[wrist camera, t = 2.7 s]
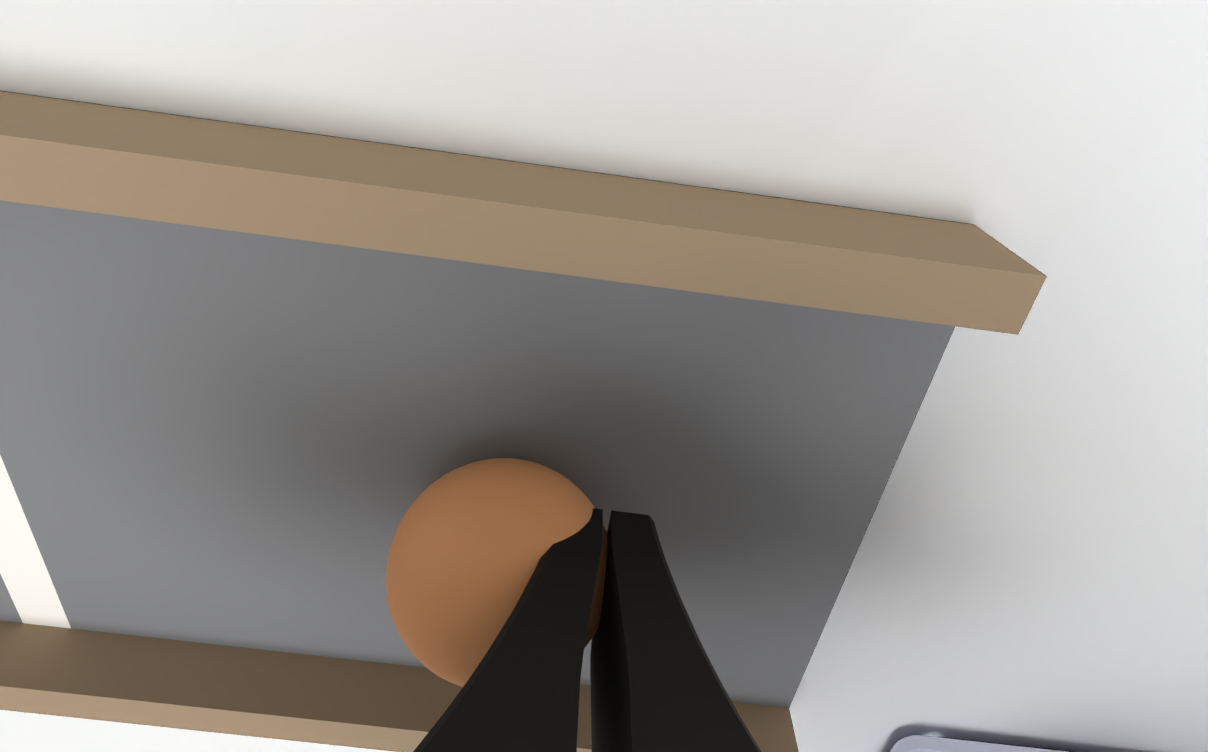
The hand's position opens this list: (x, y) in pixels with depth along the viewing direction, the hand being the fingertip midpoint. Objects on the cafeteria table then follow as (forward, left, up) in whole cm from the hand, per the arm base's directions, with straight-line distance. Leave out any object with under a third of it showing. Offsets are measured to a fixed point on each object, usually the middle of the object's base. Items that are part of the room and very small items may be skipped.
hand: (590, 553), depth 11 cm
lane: (+8, 0, -2) cm, 8 cm away
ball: (+3, 0, -1) cm, 3 cm away
